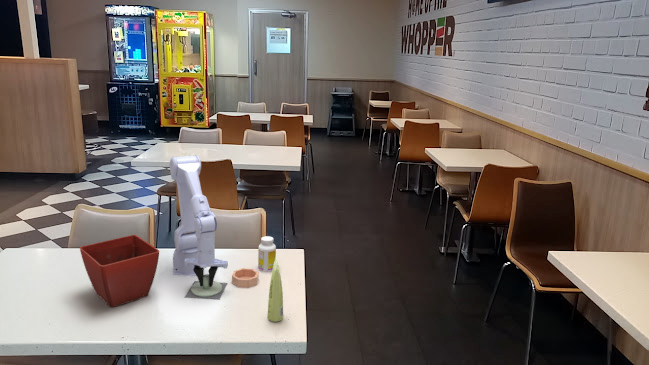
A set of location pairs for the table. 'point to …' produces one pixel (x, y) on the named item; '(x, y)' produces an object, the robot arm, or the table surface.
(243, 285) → the bowl
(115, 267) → the plant pot
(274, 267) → the tube
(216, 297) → the mat
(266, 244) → the supplement bottle
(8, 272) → the table surface
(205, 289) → the lid
